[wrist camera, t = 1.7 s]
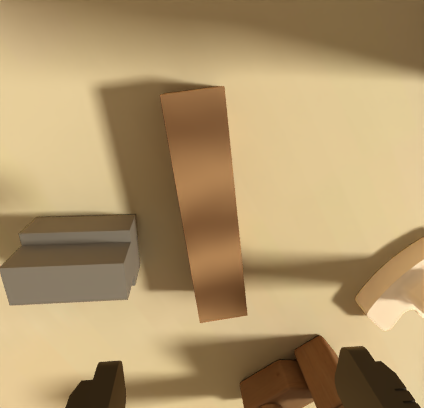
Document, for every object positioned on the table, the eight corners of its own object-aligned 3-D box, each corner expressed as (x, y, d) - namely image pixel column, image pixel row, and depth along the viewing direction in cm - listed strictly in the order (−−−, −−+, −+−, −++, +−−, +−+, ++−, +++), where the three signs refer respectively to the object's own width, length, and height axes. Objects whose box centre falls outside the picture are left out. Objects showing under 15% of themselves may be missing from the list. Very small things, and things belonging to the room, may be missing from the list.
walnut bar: (164, 93, 23) (159, 95, 19) (216, 86, 23) (224, 86, 19) (197, 289, 29) (200, 323, 25) (238, 282, 30) (247, 315, 25)
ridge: (36, 217, 25) (-5, 255, 19) (135, 214, 26) (122, 250, 20) (48, 268, 27) (13, 316, 21) (140, 265, 28) (129, 310, 22)
